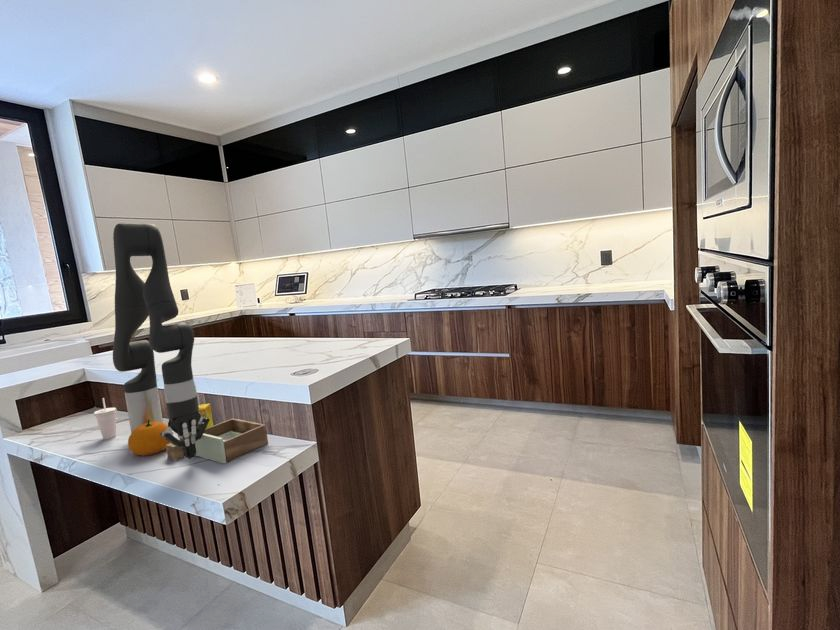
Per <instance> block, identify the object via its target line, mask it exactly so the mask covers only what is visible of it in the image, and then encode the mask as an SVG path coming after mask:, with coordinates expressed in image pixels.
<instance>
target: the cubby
mask: <svg viewBox="0 0 840 630" xmlns="http://www.w3.org/2000/svg"><path fill="white" fill-rule="evenodd" d="M229 431H234V432H239V433H242V434H240V435H238V436H235V437H233V438H230V439H228V440H226V441H223V442H224V449H225V456H226V463H230V462H231V461H232V462H233V461H234V460H236V459H239V458H241V457H242V456H244V455H247V454H249V453H251V452H253V451H256V450H258V449H259V448H261V447H264V446H266V445H269V440H268V433H267V431H268V430H267V426H266V423H265V424H263V423H259V422H254V421H249V420H243V419H237V418H229V419H227V420H225V421H224V420H223V421H222V422H219V423H217V424H213V426H211V427H208V428H206V429H205V431H204V434H208V435H212V436H216V437H217V436H219V435H222V434H224V433H227V432H229Z"/></svg>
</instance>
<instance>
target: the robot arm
mask: <svg viewBox="0 0 840 630" xmlns="http://www.w3.org/2000/svg"><path fill="white" fill-rule="evenodd" d="M112 236H113V238H112V239H113V253H114V254H113V255H114V262H115V265H114V267H115V286H114V289H115V290H114V291H115V292H114V320H115V321H114V324H115V326H114V337H113V345H112V346H113V347H112V362H113V363H112V364H113V365H114V366H113V367H114V368H115V369H116V370H117V371H118V372H120V373H122V372H131V371H135V370H140V369H141V371H140V372H139V373H138V374H137V375H136V376H135V377H133V378H131V379H129V380H128V381H126V382H125V383H123V391H124V398H125V403H126V409H127V415H128V422H129V427H130V434H131V433H132V432H133V431H134V429H135V428H136V427H138V426H140V425H143V424H145V423H148V420H150V421H149V422H162V423H164V421H163V415H162V407H161V406H162V405H161V402H160V401H161V400H160V394H159V386H158V381H157V372H156V364H155V353H159V354H163V353H169V352H173V351H178V353H177V355H175V357H174V358H171V359H167V360H166V361H164V362H163V363H162V364H161V373H162V379H163V392H164V393H163V394H164V399H165V401H164V402H165V406H166V412H167V417H168V423H167V426H168V428H167V429H166V430H165V432H162V433H161V434H160V435H161V436H162V437H163V438H165V439H166V440H167V441H169V442H170V443H172V444H173V445H175V446H179V447H182V449H183V455H184V457H183V458H185V459H189V460H191V459H193V458H194V457H196V455H195V454H196V446H195V442H196V441H197V440H198V439H201V437H202V435H203V433H204V431H205V429H206V427H207V425H208V423H209V419H208V418H203V417H201V414H200V413H199V411H198V410H199V406H198V405H199V400H198V394H197V387H196V384H195V381H194V375H193V369H192V359H193V350H194V349H193V348H194V344H195V332H194V329H193V327H192V326H191V325H190V324H188V323H185V322H183V323H181V322H180V323H174V324H168V325H163V323H165V322H168V321H171V320H173V319H175V318H176V317H177V316H178V315H179V307H178V305H177V301H176V299H175V295H174V293H173V290H172V287H171V281H170V277H169V270H168V264H167V257H166V253H165V248H164V247H165V246H164V241H163V238H162V237H163V236H162V234H161V231H160V229H159V228H158V227H157V225H155V224H153V223H143V222H141V223H139V222H137V223H135V222H134V223H133V222H120V223H117V224H115V226H114V229H113V235H112ZM131 257H151V260H152V265H151V269H150V272H149V273H148V276H147V277H146V279H145V282H144V280H143V279H142V278H141V277H140V276H139V274H137V272H136V271H135V269H134V268H133V266H132V265H131ZM147 319H149V335H148V339H147V340H146V339H142V340H134V341H131V340H132V338H133V336H134V334H136V332H137V331H138V329H139V328H140V327H142V325H143V324H144V323H145V321H146V320H147ZM154 352H155V353H154ZM197 425H198V426H197ZM196 427H197V428H196ZM174 433H175V434H176V435H177V438H176V437H175V436H174ZM179 440H180V441H179Z"/></svg>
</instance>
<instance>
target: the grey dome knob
mask: <svg viewBox="0 0 840 630" xmlns="http://www.w3.org/2000/svg"><path fill="white" fill-rule="evenodd" d="M220 438H223V441H226V440H228V439H230V438H233V437H232V436H223V437H220Z"/></svg>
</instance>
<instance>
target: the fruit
mask: <svg viewBox="0 0 840 630" xmlns="http://www.w3.org/2000/svg"><path fill="white" fill-rule="evenodd" d="M149 421H150V420H148V423H145V424H143V425H140V426H138V427H136V428H135V429H134V431H133V432H132V433H131V432H130V435H129V437H128V440H127V446H128V448H129V451H130V452H131V453H132V454H134V455H138V456H150V455H155V454H157V453H158V454H159V453H160V452H162V451H164V450H166V445H167V444H170V442H169V441H167V440H166V439H165V438H163V437H162V436H161V435H160V434H161V433H162V432H165V430H166V429H167V428H168V424H166V423H164V422H163V423H162V422H149Z"/></svg>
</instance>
